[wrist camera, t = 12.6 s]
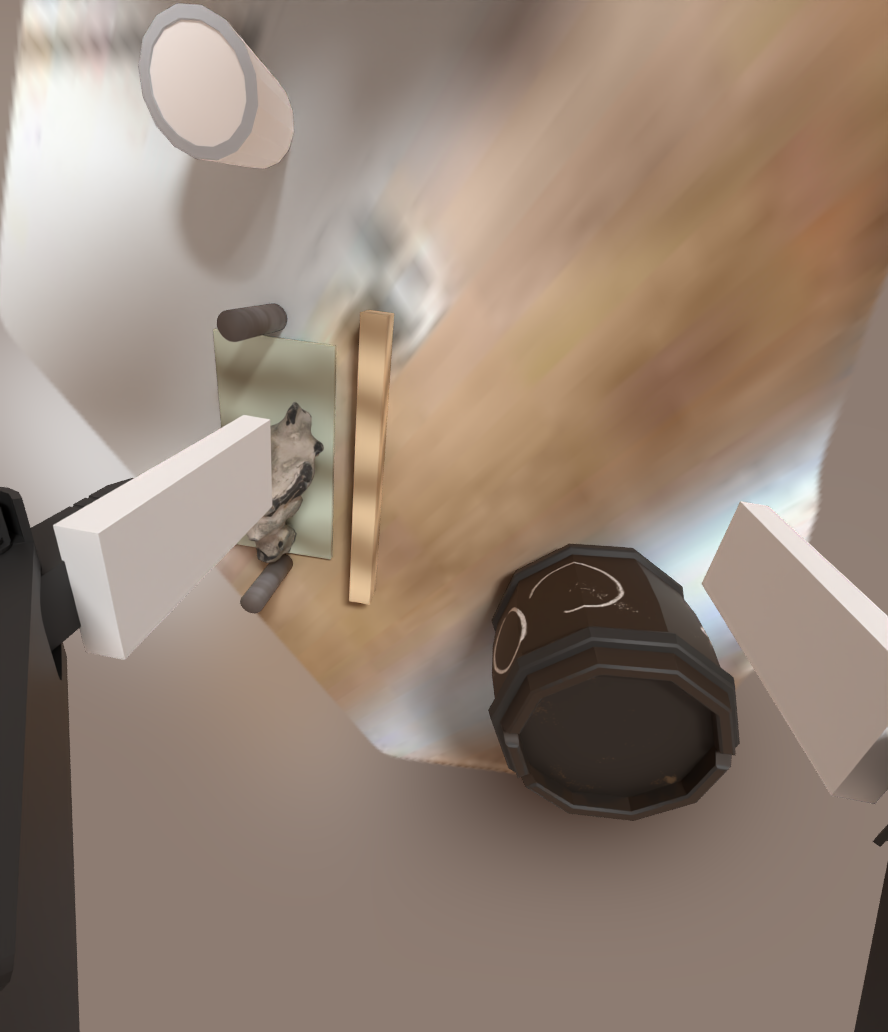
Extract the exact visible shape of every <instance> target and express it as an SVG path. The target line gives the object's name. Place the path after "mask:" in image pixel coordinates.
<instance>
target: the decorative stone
mask: <svg viewBox="0 0 888 1032" xmlns="http://www.w3.org/2000/svg"><path fill="white" fill-rule="evenodd" d="M311 426H312V417H311V415H310V413H309V412H307V411H305V410H303V409H302V408H301V407H300V406H299V404H298V403H297V402H293V404H292V405H291V406H290V408H289V409H288V411H287V413H286V415H285V417H284V418H283V420H281V421H280V422H279V423H277V424H275V425H272V426H270V429H271V476H272V507H271V508H270V509H269V510H268V511H267V512H266V513H265V515H264V516H263V517H262V518H261V519H260V520H259V521H258V522H257V523H256V524H255V525H254V526H253V527H252V528H251V529H250V530H249V531H248V532H247V533H246V534H247V536H248V538H249V540H251V541H255V544H256V548H257V556H258V559H259V560H261V561H263V562H267V563H270V562H275V561H277V560H278V559H279V558H280V557H281V556H282V555H283V554H285V553H289V552H290V550H291V546H292V544H293V543H294V541H295V538H296V535H297V533H296V532H295V530H294V528H292V527H290V526H288V525H286V524H285V521H286V520H287V519H288V518H289V517H293V516H294V514H295V513H296V512H297V511H298V510H299V509H300V507H301V504H302V501H303V498H302V497H301V495H302V494H303V493H304V492H305V491H306V490H307V488H308V487H309V486H310V484H311V483H312V480H313V478H314V475H315V464H314V460H315V457H317V456H319V453H321V452H322V451H323V450H324V445H323V444H322V443H321V442H320V441H318V440H317V439H316V438H314V436H313V435H312V433H311Z"/></svg>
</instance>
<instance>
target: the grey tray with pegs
mask: <svg viewBox="0 0 888 1032" xmlns="http://www.w3.org/2000/svg"><path fill="white" fill-rule="evenodd" d="M286 323H287V315H286V313H285V311H284V309H283V308H282V307H281V306H279V305H277V304H266V305H259V306H252V307H245V308H239V309H232V310H226V311H223V312H222V313H220V315H219V316H218V319H217V327H218V329H213V337H214V348H215V359H216V371H217V382H218V393H219V405H220V416H221V428H222V427H224V426H225V425H227V424H229V423H231V422H232V421H234V420H236V419H238V418H239V417H241V416H243V415H247V416H253V417H259V418H264V419H270V426H272V425H275V424H277V423H279V422H280V421H281V420H283V418H284V417H285V415H286V413H287V411H288V409H289V408H290V406H291V405H292V404H293V402H297V403H298V404H299V406H300V407H301V408H302V409H303V410H305V411H307V412H309V413H310V415H311V417H312V426H311V433H312V435H313V436H314V438H316V439H317V440H318V441H320V442H321V443H322V444H323V445H324V450H323V451H322V452H321V453H319V456H317V457H315V460H314V464H315V475H314V478H313V480H312V483H311V484H310V486H309V487H308V488H307V490H306V491H305V492H304V493H303V494H302V495H301V497H302V498H303V501H302V504H301V507H300V509H299V510H298V511H297V512H296V513H295V514H294V516H293V517H289V518H288V519H287V520H286V521H285V524H286V525H288V526H290V527H292V528H294V530H295V532H296V533H297V535H296V538H295V541H294V543H293V544H292V546H291V550H290V552H289V553H294V554H301V555H307V556H313V557H319V558H325V559H332V545H333V491H334V438H335V385H336V346H334V345H327V344H320V343H313V342H306V341H299V340H292V339H285V338H278V337H271V336H264V334H268V333H272V332H275V331H279V330H282V329H283V328H284V327H285V326H286ZM393 324H394V313H388V312H380V311H373V310H367V311H363V312H360V333H359V359H358V385H357V411H356V437H355V463H354V488H353V514H352V540H351V566H350V592H349V601H351V602H357V603H363V604H369V605H370V602H371V600H372V597H373V595H374V592H375V590H376V575H377V560H378V545H379V531H380V516H381V501H382V486H383V472H384V457H385V442H386V427H387V412H388V398H389V383H390V368H391V353H392V338H393ZM237 544H239V545H245V546H251V547H256V544H255V541H251V540H249V538H248V536H247V534H245V535H244V536H243V537H242V538H241V539H240V541H239V542H238V543H237ZM292 566H293V561H292V559H291V558H290V557H289V556H288V555H286V554H283V555H282V556H281V557H280V558H279V559H278V560H277V561H275V562H270V563H269V564H268V565H267V567H266V568H265V569H264V570H263V572H262V573H261V574H260V575H259V577H258V578H257V579H256V580H255V582H254V583H253V584H252V585H251V587H250V588H249V589H248V590H247V592H246V593H245V594H244V595H243V597H242V598H241V601H240V603H241V606H242V607H243V608H244V609H245V610H246V611H248V612H250V613H258V612H260V611H261V610H262V609H263V607H264V606H265V604H266V603H267V602H268V600H269V599H270V597H271V596H272V595H273V593H274V592H275V590H276V589H277V588H278V586H279V585H280V583H281V582H282V581H283V579H284V578H285V576H286V575H287V574H288V572H289V571H290V569H291V568H292Z"/></svg>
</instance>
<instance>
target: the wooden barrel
mask: <svg viewBox="0 0 888 1032" xmlns="http://www.w3.org/2000/svg"><path fill="white" fill-rule="evenodd" d="M492 623H493V626H494V630H495V633H496V634H495V639H494V644H493V661H492V679H493V687H494V695H495V699H494V701H493V703H492V705H491V706H490V708H489V710H488V711H489V714H490V717H491V720H492V723H493V726H494V729H495V732H496V734H497V737H498V740H499V743H500V745H501V748H502V751H503V754H504V757H505V759H506V762H507V765H508V768H509V769H511V770H512V771H514V772H516V775H517V777H521V778H522V780H523V783H524V785H525V787H527V788H528V789H530V790H531V791H533V792H535V793H536V794H538V795H540V796H541V797H543V798H544V799H546V800H548V801H549V802H551V803H553V804H554V805H556V806H557V807H559V808H561V809H562V810H564V811H565V812H567V813H570V814H578V815H587V816H596V817H604V818H613V819H622V820H631V821H634V820H638V819H641V818H645V817H648V816H652V815H655V814H659V813H662V812H666V811H669V810H673V809H676V808H679V807H683V806H686V805H690V804H693V803H696V802H697V801H698V800H699V799H700V798H701V797H702V796H703V795H704V794H705V793H706V792H707V791H708V790H709V789H710V788H711V787H712V786H713V785H714V784H715V783H716V782H717V781H718V780H719V779H720V778H721V777H722V775H723V774H724V773H725V772H726V771H727V770H728V769H729V768H730V767H731V758H732V755H735V748H736V747H737V746H738V744H739V730H738V718H737V706H736V694H735V684H734V678H733V677H732V676H731V675H730V674H728V673H727V672H726V671H724V670H723V669H722V668H720V665H719V662H718V660H717V657H716V654H715V651H714V649H713V646H712V643H711V641H710V639H709V637H708V636H707V634H706V632H705V630H704V628H703V627H702V625H701V623H700V621H699V620H698V618H697V616H696V614H695V613H694V612H693V610H692V609H691V608H690V606H689V605H688V604H687V603H686V601H685V600H684V595H683V587H682V586H681V585H680V584H678V583H677V582H676V581H674V580H673V579H672V578H671V577H669V576H668V575H667V574H665V573H664V572H663V571H662V570H660V569H659V568H658V567H657V566H655V565H654V564H653V563H651V562H650V561H649V560H648V559H646V558H645V557H644V556H642V555H641V554H640V553H639V552H637V551H636V550H635V549H633V548H625V547H612V546H597V545H582V544H568V545H566V546H564V547H562V548H560V549H558V550H556V551H554V552H552V553H550V554H548V555H546V556H544V557H542V558H540V559H538V560H536V561H534V562H532V563H530V564H528V565H526V566H525V567H523V568H521V569H519V570H517V571H516V572H515V574H514V576H513V578H512V580H511V582H510V584H509V586H508V588H507V590H506V592H505V594H504V596H503V598H502V600H501V602H500V604H499V606H498V608H497V610H496V612H495V614H494V616H493V618H492Z"/></svg>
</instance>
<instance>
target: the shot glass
mask: <svg viewBox="0 0 888 1032" xmlns="http://www.w3.org/2000/svg"><path fill="white" fill-rule="evenodd" d="M138 67H139V74H140V80H141V87H142V93H143V98H144V100H145V102H146V105H147V107H148V109H149V111H150V113H151V116H152V118H153V120H154V122H155V124H156V126H157V127H158V128H159V129H160V131H161V132H162V133H163V134H164V135H165V136H166V137H167V139H168V140H169V141H170V142H171V143H172V144H173V146H174V147H176V148H178V149H180V150H181V151H183V152H185V153H187V154H189V155H190V156H192V157H194V158H196V159H201V160H207V161H213V162H219V163H225V164H231V165H237V166H243V167H249V168H261V169H266V168H268V167H270V166H273V165H275V164H277V163H279V162H280V161H281V159H282V158H283V157H284V156H285V154H286V153H287V152H288V150H289V148H290V144H291V141H292V137H293V134H294V121H293V110H292V107H291V105H290V102H289V99H288V96H287V93H286V92H285V90H284V89H283V88H282V86H281V85H280V84H279V82H278V81H277V80H276V79H275V77H274V76H273V75H272V74H271V72H270V71H269V70H268V69H267V68H266V67H265V65H264V64H263V63H262V62H261V61H260V59H259V58H258V57H257V56H256V55H255V53H254V52H253V51H252V50H251V49H250V48H249V46H248V45H247V44H246V43H245V42H244V40H243V39H242V38H241V37H240V36H239V35H238V33H237V32H236V31H235V30H234V29H233V27H232V26H231V25H230V24H229V23H228V22H227V20H226V19H224V18H223V17H221V16H219V15H218V14H216V13H214V12H213V11H211V10H210V9H208V8H206V7H205V6H203V5H198V4H181V3H177V4H175V5H173V6H172V7H170V8H168V9H166V10H164V11H163V12H161V13H159V14H157V15H156V17H155V18H154V20H153V22H152V23H151V25H150V27H149V28H148V30H147V32H146V33H145V35H144V37H143V40H142V47H141V53H140V60H139V66H138Z"/></svg>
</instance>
